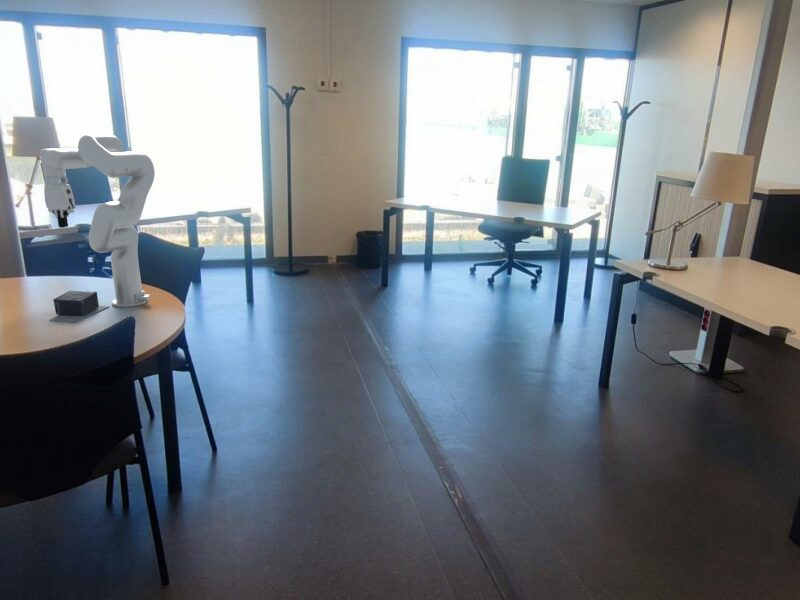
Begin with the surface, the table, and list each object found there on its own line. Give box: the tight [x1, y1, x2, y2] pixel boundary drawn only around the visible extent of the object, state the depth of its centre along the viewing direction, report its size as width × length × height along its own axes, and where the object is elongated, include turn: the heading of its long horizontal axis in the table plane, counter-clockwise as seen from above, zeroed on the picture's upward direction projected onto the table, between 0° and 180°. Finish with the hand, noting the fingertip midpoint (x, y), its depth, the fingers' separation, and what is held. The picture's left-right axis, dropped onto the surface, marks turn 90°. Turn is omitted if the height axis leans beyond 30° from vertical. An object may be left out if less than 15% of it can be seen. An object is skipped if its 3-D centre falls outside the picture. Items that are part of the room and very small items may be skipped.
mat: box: [48, 305, 110, 324], centre depth 203 cm, size 10×18×1 cm, turn 169°
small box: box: [53, 290, 100, 316], centre depth 204 cm, size 11×6×10 cm
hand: (63, 226), depth 221 cm, fingers closed
